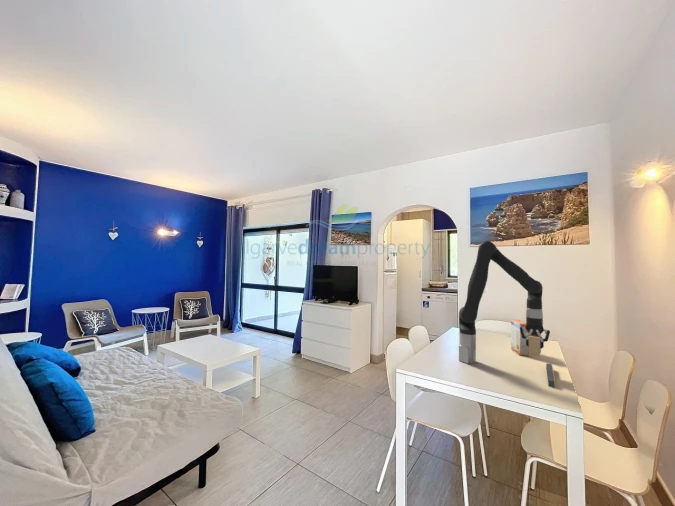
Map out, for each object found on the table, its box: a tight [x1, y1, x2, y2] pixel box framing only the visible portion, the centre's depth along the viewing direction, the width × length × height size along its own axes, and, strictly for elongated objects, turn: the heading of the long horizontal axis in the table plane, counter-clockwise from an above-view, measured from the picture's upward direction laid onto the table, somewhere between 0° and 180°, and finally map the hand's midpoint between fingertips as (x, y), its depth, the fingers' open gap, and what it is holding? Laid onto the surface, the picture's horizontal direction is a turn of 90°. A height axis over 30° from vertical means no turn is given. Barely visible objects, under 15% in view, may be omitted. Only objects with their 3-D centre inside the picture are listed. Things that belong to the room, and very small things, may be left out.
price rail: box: [545, 363, 556, 388], centre depth 148 cm, size 28×3×3 cm, turn 145°
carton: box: [529, 335, 542, 358], centre depth 152 cm, size 10×5×10 cm, turn 145°
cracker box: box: [510, 319, 530, 357], centre depth 188 cm, size 14×6×21 cm, turn 168°
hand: (534, 347), depth 152 cm, fingers closed on carton, 5 cm apart
